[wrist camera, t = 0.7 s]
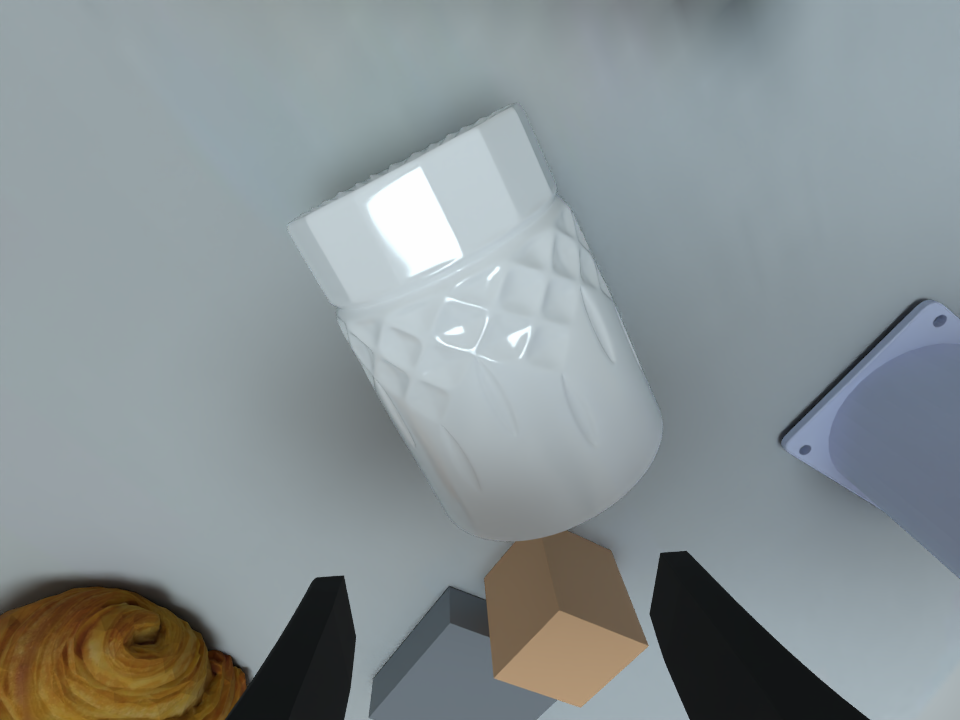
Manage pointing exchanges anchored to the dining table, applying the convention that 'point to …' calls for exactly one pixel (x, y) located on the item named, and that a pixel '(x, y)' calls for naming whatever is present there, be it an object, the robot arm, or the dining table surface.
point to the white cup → (487, 331)
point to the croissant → (110, 662)
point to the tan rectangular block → (560, 618)
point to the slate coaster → (450, 671)
